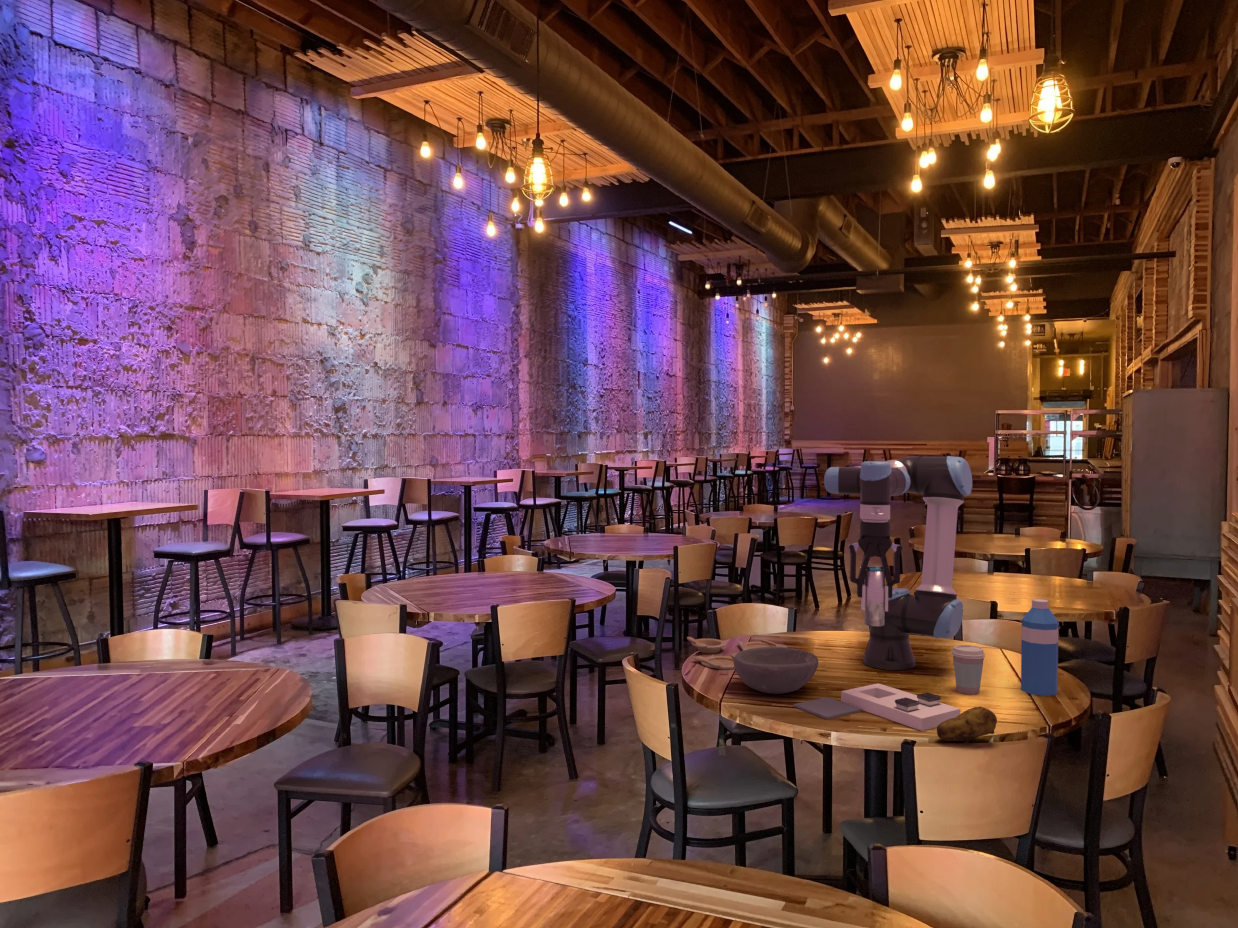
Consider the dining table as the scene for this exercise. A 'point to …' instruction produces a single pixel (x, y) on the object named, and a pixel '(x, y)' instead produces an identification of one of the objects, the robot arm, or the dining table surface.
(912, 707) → the plunger near
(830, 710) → the mat
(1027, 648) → the water bottle
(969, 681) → the coffee cup
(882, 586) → the cylinder
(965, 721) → the potato
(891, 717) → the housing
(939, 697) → the dark topped block
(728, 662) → the tableware set
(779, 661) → the bowl
